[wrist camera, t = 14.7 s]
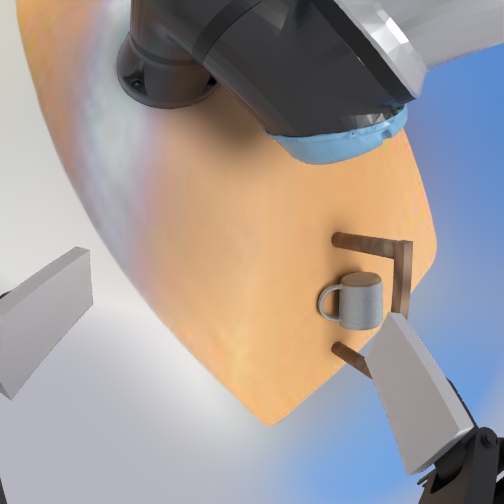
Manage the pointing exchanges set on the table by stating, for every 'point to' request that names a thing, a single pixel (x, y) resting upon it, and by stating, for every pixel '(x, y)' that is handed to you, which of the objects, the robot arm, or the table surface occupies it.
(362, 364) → the walnut gate
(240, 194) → the table surface
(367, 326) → the ceramic mug
